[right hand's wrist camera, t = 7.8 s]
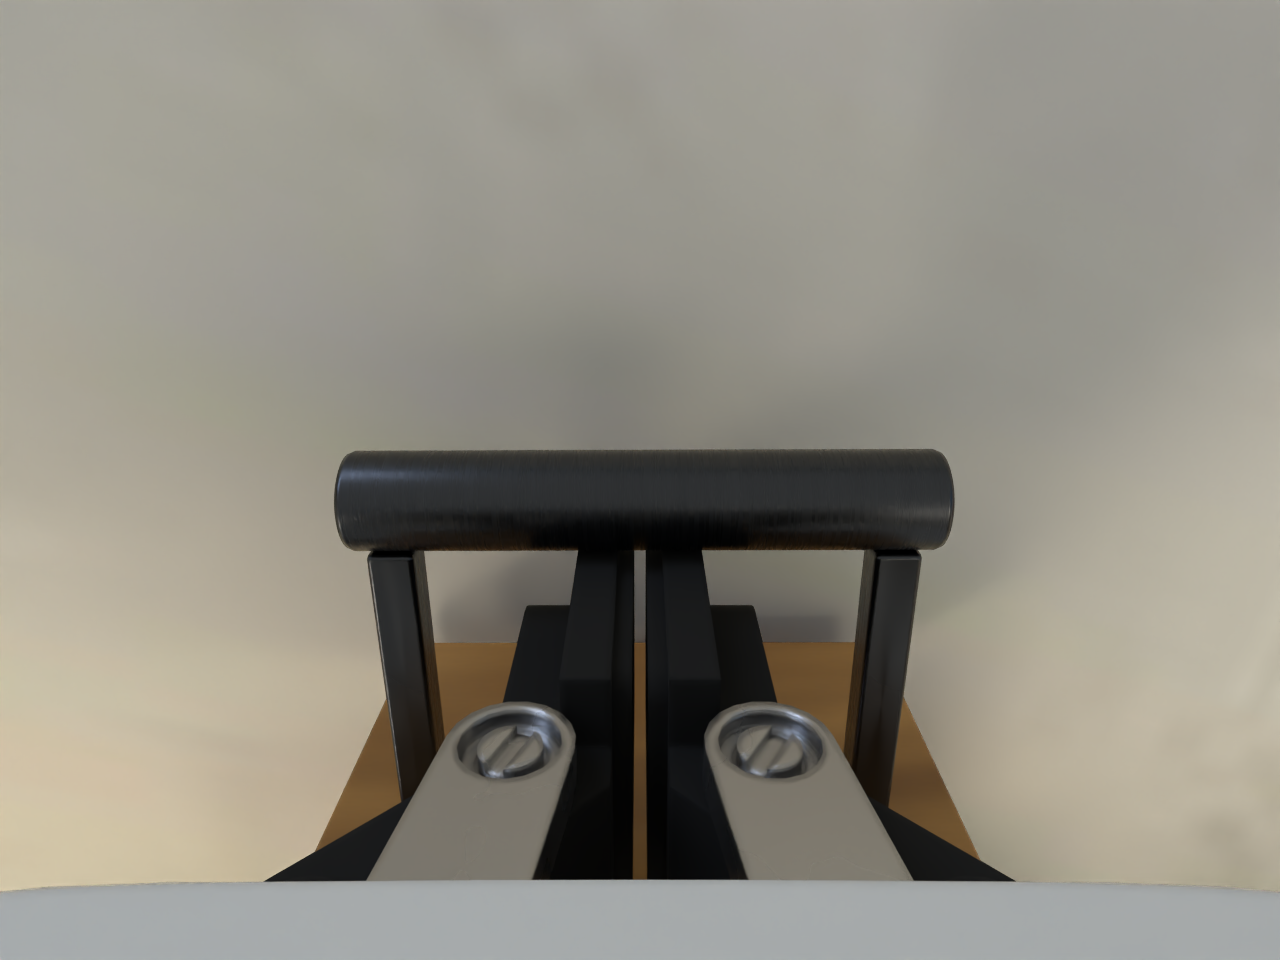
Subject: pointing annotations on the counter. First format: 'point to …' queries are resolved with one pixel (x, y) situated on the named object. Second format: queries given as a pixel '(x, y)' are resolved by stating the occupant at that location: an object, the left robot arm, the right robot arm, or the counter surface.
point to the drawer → (649, 520)
